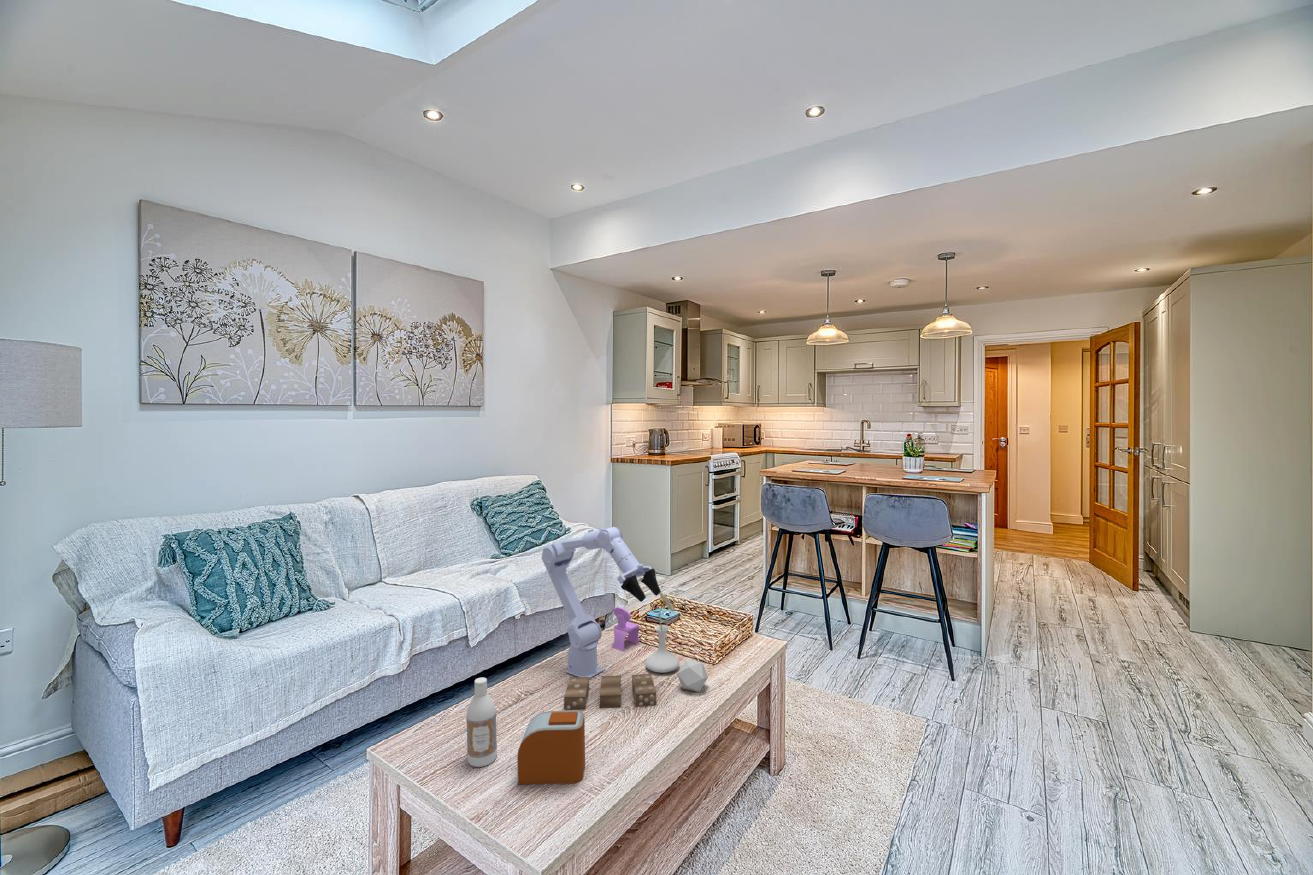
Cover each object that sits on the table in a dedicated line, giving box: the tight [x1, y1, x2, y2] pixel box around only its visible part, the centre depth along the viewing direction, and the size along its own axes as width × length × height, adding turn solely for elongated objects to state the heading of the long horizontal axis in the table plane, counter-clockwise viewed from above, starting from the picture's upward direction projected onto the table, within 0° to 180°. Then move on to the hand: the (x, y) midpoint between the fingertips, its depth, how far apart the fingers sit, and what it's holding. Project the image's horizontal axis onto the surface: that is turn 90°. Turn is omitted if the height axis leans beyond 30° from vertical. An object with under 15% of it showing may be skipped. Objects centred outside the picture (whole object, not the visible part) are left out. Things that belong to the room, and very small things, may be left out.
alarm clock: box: [516, 710, 586, 785], centre depth 130 cm, size 15×8×14 cm, turn 91°
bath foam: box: [466, 676, 498, 768], centre depth 135 cm, size 7×7×20 cm
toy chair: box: [611, 606, 640, 653], centre depth 201 cm, size 8×9×15 cm
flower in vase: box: [645, 590, 680, 673], centre depth 183 cm, size 13×11×25 cm
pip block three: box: [563, 676, 590, 711], centre depth 164 cm, size 12×6×4 cm, turn 1°
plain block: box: [599, 675, 622, 709], centre depth 164 cm, size 12×6×4 cm, turn 3°
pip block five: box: [631, 673, 657, 708], centre depth 165 cm, size 12×6×4 cm, turn 8°
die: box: [676, 659, 709, 693], centre depth 169 cm, size 8×9×10 cm
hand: (651, 596), depth 162 cm, fingers open, 7 cm apart
